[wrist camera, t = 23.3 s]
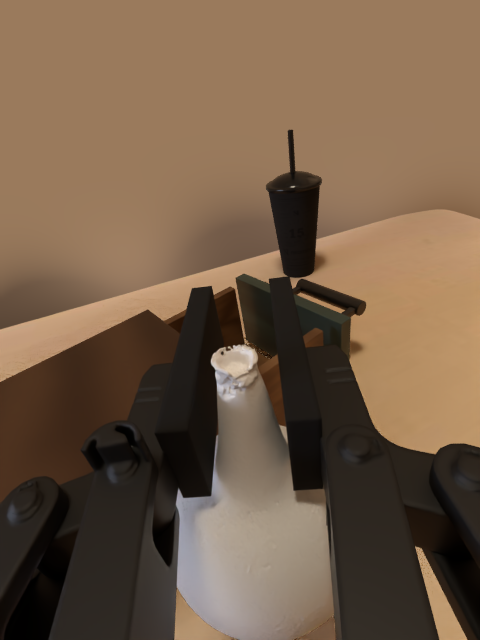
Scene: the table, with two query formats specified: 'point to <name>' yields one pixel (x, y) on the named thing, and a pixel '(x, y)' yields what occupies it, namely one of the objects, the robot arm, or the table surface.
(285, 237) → the drinking cup
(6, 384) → the cabinet
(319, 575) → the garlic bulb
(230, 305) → the drawer
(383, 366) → the table surface
